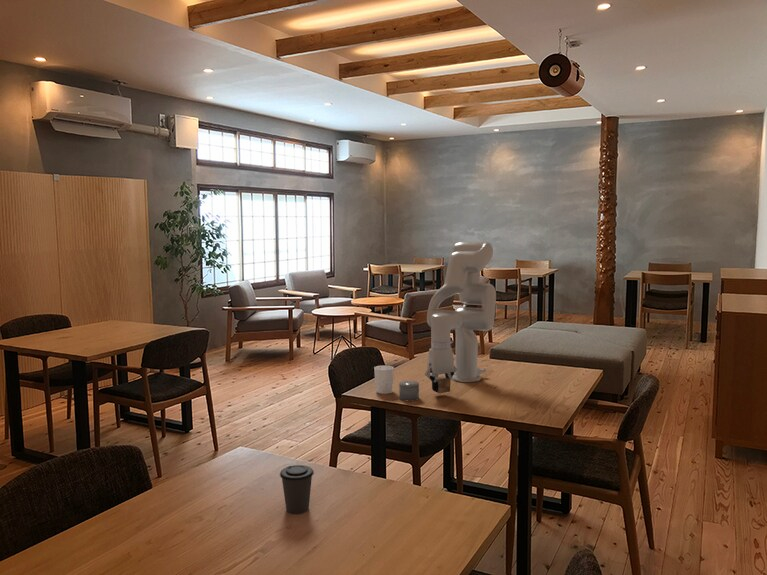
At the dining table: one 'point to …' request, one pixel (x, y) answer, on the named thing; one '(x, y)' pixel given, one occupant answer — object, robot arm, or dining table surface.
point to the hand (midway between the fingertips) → (441, 389)
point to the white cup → (384, 379)
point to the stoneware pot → (409, 390)
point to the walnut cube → (443, 384)
